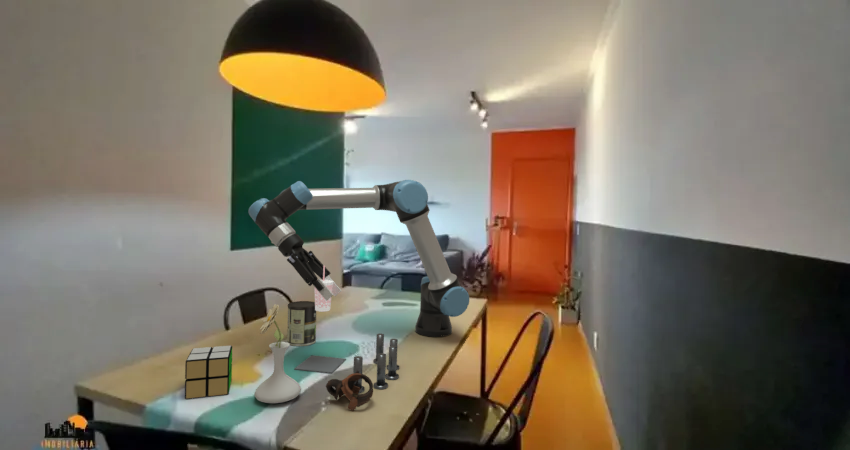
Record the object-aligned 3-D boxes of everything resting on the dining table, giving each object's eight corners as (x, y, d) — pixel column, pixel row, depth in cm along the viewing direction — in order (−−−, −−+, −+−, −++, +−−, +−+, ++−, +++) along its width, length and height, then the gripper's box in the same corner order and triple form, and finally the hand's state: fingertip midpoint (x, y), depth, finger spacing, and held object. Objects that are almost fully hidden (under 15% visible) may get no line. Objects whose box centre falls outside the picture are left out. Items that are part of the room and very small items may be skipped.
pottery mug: (368, 393, 113) (377, 372, 109) (365, 424, 104) (374, 403, 101) (324, 384, 110) (332, 362, 107) (318, 415, 102) (326, 393, 98)
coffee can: (314, 336, 159) (315, 300, 158) (317, 345, 149) (318, 306, 149) (285, 338, 155) (286, 301, 154) (287, 347, 145) (288, 307, 145)
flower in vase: (262, 388, 112) (264, 296, 112) (305, 388, 113) (307, 297, 112) (244, 411, 99) (247, 307, 98) (293, 411, 100) (296, 308, 99)
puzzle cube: (191, 384, 113) (192, 347, 113) (231, 380, 117) (232, 345, 117) (184, 400, 104) (185, 360, 104) (228, 395, 108) (229, 357, 107)
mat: (311, 356, 138) (311, 355, 138) (346, 359, 136) (346, 358, 136) (294, 369, 126) (294, 368, 126) (331, 373, 124) (331, 372, 124)
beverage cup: (336, 309, 132) (338, 265, 131) (324, 313, 126) (325, 267, 126) (321, 306, 134) (322, 263, 134) (308, 310, 129) (309, 265, 128)
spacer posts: (375, 359, 137) (376, 332, 137) (407, 362, 135) (408, 335, 135) (347, 392, 111) (348, 359, 111) (387, 397, 110) (388, 363, 109)
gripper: (293, 246, 141) (337, 297, 139) (262, 251, 123) (312, 310, 120) (308, 231, 140) (352, 282, 138) (279, 234, 122) (330, 293, 119)
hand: (334, 295), depth 129 cm, fingers closed on beverage cup, 6 cm apart
